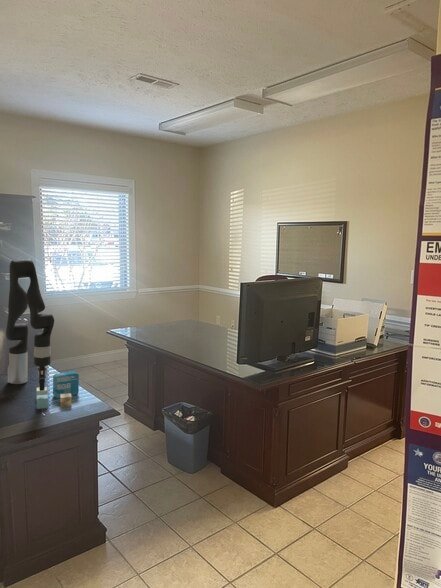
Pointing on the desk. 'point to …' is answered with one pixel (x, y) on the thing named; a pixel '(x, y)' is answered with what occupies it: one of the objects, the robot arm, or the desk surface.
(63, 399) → the maple block
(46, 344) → the robot arm
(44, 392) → the sage block
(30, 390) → the desk surface
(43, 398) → the teal block
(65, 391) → the data package
